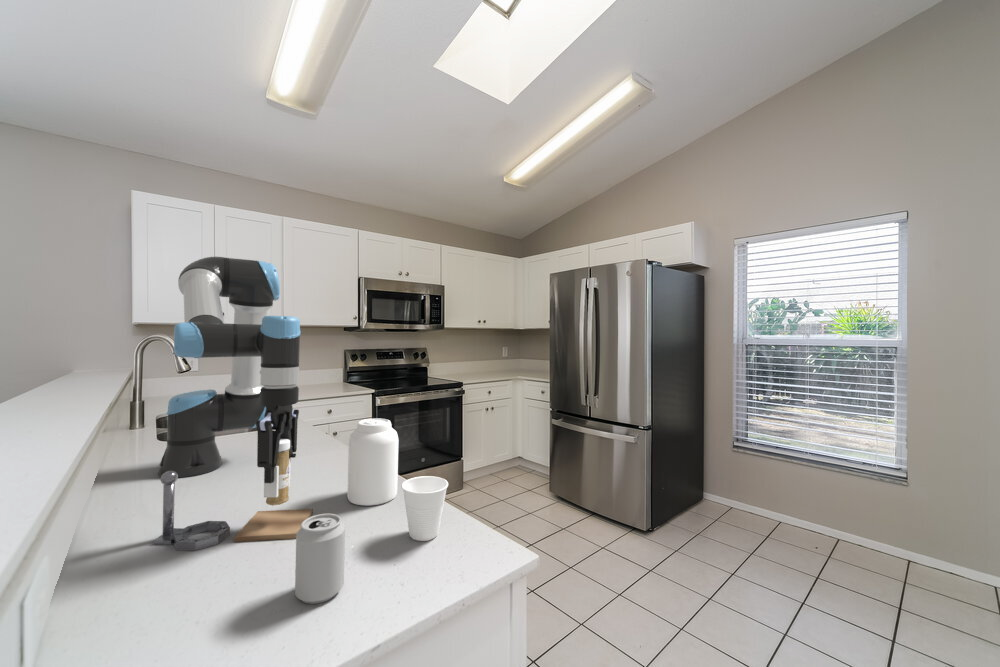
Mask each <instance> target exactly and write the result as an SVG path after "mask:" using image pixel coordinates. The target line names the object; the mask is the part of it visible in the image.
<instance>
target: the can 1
mask: <svg viewBox="0 0 1000 667" xmlns="http://www.w3.org/2000/svg"><path fill="white" fill-rule="evenodd" d="M342 521H343V520H342V517H341V516H339V515H338V514H335V513H321V514H315V515H311V517H309V518H307V519H306V520H304V521H303V522H302V524H301V528H300V529H299V531H298V532H297V534H296V538H295V569H294V573H295V577H294V579H295V580H294V581H295V582H294V593H295V596H296V598H298V600H301V601H302V602H303V603H306V604H309V605H310V604H311V605H312V604H321V603H325V602H327V601H329V600H331V599H332V598H334V597H335V596H336V595H337V594H338V593H339V592H340V591H341V590H342V589H343V587H344V583H345V558H346V556H345V553H346V549H345V548H346V526H345V524H344V523H343V522H342Z"/></svg>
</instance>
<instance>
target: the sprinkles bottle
mask: <svg viewBox="0 0 1000 667" xmlns="http://www.w3.org/2000/svg"><path fill="white" fill-rule="evenodd" d="M289 449H290V440H289V439H280V443H279V450H278V458H277V465H276V466H279V489H278V497H266V501H265V503H266V504H267V505H269V506H278V505H283V504H284V503H287V502H288V501H289V499H290V497H289V491H290V488H289V487H288V485H289Z"/></svg>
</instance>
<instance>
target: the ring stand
mask: <svg viewBox="0 0 1000 667" xmlns="http://www.w3.org/2000/svg"><path fill="white" fill-rule="evenodd" d="M178 478H179V477H178V474H177V473H176V472H175V471H167V472H165V473H164V474H163V475H162V476H160V482H161V484H162V485H163V488H162V489H163V493H162V494H163V496H162V499H163V500H162V533H161V535H159V536H158V537H156V538H155V539H153V540H152V545H161V546H163V545H167V546H171V545H174V549H175V550H176V551H188V552H189V551H190V552H191V551H193V552H195V551H199V550H203V549H206V548H209V547H213V546H216V545H219V544H220V543H221V542H223V541H224V540H225V539H226V538H228V537H229V536H230V535H231V526H230V525H229V524H228V523H227V521H224V520H207V521H203V522H199V523H196V524H192V525H191V524H190V525H188V526H185V527H184V528H177V527H176V528H175V493H176V492H175V491H176V490H175V489H176V488H175V483H176V482H177V480H178ZM205 532H216V533H214V534H212V535H207V536H205V537H201V538H197V539H196V538H195V539H193V538H190V537H191V536H194V535H197V534H201V533H205Z"/></svg>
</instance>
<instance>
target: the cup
mask: <svg viewBox="0 0 1000 667" xmlns="http://www.w3.org/2000/svg"><path fill="white" fill-rule="evenodd" d="M448 487H449V482H448V481H447V480H446V479H445V478H443V477H439V476H435V475H434V476H433V475H423V476H416V477H412V478H408V479H407V480H404V481H403V482H402V484H401V489H402V492H403V499H404V505H405V506H404V507H405V510H406V511H405V514H406V518H407V519H406V520H407V527H408V533H409V537H410V538H412V540H414V541H417V542H428V541H431V540H433V539H435V538H436V537H437V536H438V535H439V532H440V526H441V521H442V514H443V510H444V504H445V499H446V495H447V488H448Z"/></svg>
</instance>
